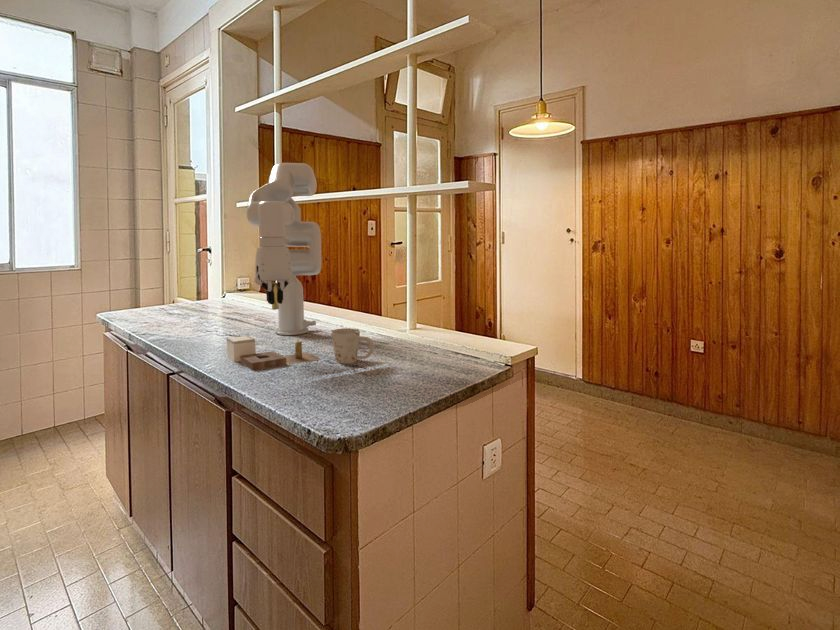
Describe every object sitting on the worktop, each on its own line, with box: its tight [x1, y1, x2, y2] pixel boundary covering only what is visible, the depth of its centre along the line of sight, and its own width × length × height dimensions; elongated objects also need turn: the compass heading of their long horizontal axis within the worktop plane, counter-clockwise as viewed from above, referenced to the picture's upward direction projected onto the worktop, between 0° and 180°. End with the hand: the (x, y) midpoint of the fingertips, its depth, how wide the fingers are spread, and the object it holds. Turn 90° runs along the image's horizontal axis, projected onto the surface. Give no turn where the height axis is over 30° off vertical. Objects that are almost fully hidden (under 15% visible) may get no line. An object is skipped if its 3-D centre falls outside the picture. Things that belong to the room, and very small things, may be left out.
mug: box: [330, 328, 375, 364], centre depth 154 cm, size 8×13×10 cm, turn 95°
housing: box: [226, 335, 257, 363], centre depth 156 cm, size 6×6×7 cm
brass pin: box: [271, 282, 279, 311], centre depth 158 cm, size 2×2×8 cm
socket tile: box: [239, 350, 288, 371], centre depth 150 cm, size 10×10×3 cm
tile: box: [283, 340, 321, 365], centre depth 156 cm, size 10×10×6 cm
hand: (275, 303), depth 159 cm, fingers closed on brass pin, 2 cm apart
